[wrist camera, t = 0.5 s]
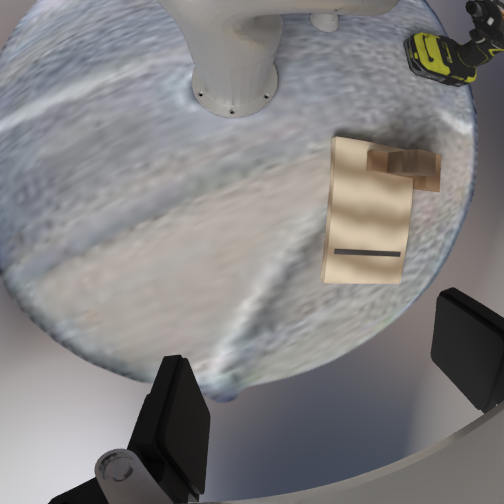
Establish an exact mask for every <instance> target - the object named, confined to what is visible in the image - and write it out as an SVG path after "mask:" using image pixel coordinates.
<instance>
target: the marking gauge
mask: <svg viewBox="0 0 504 504" xmlns="http://www.w3.org/2000/svg"><path fill="white" fill-rule="evenodd" d="M367 171H372V172H378V173H384V174H390V175H396V176H401V177H407V178H412V179H413V189H418V190H424V191H434V192H439V189H440V171H441V155H439V154H436V153H433V152H429V151H426V150H422V149H411V150H403V151H396V152H389V153H387V152H382V151H376V150H370V151H367Z"/></svg>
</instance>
